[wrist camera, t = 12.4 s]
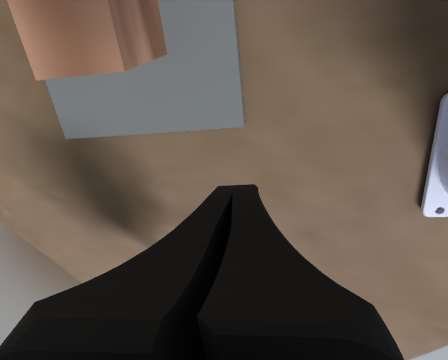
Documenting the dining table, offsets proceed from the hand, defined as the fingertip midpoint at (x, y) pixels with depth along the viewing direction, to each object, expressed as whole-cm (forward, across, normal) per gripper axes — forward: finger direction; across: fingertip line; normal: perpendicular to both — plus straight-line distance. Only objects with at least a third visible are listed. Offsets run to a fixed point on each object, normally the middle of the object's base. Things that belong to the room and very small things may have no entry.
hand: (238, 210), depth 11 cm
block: (+10, +6, -7) cm, 14 cm away
